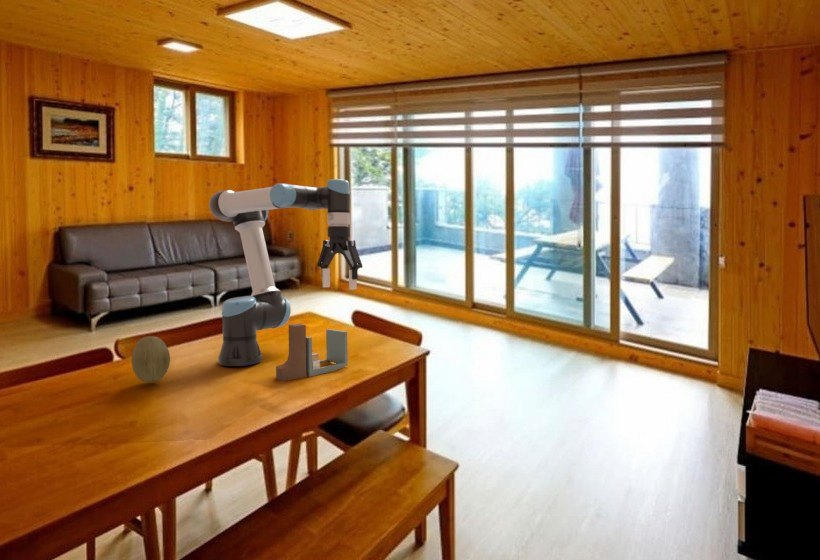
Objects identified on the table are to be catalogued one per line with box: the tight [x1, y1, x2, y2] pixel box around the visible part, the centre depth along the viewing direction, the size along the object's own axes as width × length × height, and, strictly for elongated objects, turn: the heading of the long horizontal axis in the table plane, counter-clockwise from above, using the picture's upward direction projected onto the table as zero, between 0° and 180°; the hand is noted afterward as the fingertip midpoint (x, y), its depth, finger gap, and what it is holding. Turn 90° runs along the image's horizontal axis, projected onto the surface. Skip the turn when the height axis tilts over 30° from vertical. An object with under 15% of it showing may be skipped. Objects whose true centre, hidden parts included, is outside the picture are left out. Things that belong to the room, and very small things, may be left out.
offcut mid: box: [312, 359, 321, 369], centre depth 189 cm, size 7×3×2 cm, turn 55°
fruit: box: [131, 335, 171, 383], centre depth 178 cm, size 11×11×15 cm
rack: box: [306, 328, 349, 378], centre depth 193 cm, size 10×17×13 cm, turn 139°
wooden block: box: [275, 323, 307, 382], centre depth 182 cm, size 9×4×18 cm, turn 125°
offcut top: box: [312, 352, 319, 361], centre depth 189 cm, size 6×3×2 cm, turn 52°
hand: (339, 288), depth 188 cm, fingers open, 13 cm apart
